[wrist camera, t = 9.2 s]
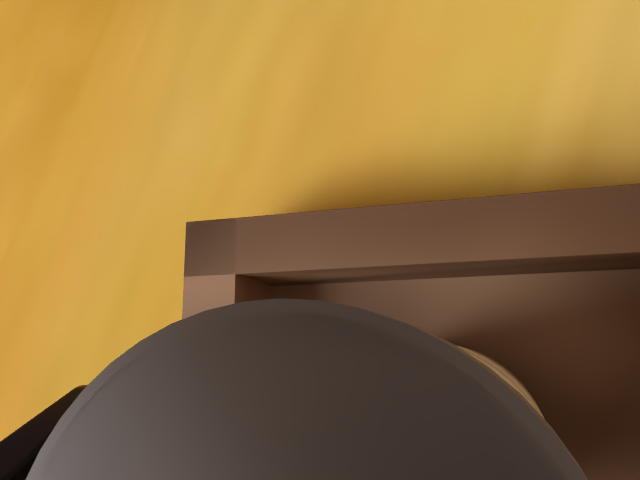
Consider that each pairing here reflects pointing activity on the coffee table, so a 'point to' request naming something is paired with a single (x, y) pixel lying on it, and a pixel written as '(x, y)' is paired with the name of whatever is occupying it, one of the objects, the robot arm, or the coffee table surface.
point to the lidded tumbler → (302, 405)
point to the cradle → (470, 291)
